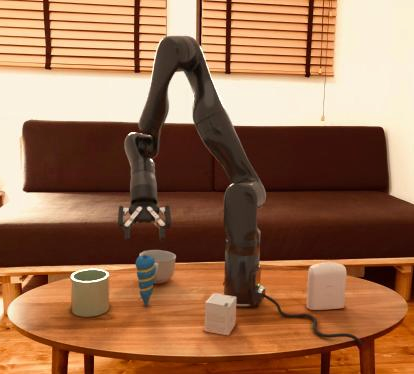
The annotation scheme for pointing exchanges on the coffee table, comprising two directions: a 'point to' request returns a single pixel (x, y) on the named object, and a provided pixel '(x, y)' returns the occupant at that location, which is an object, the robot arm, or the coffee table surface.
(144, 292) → the ornament
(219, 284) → the coffee table surface
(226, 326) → the product carton
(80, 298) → the green cup
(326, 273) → the photo printer
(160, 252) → the teacup
